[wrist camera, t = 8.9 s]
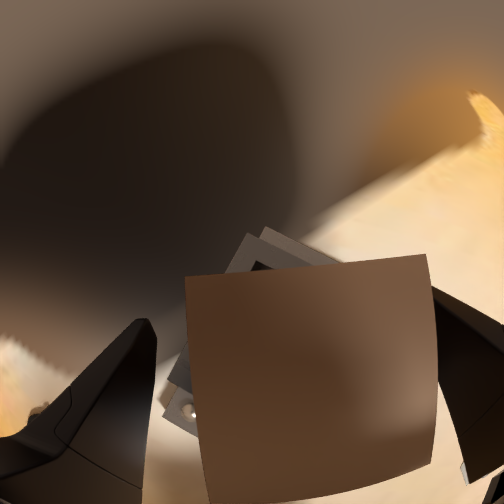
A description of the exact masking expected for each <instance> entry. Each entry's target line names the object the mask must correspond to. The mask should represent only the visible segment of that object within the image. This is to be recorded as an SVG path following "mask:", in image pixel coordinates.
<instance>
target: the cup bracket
mask: <svg viewBox="0 0 504 504" xmlns="http://www.w3.org/2000/svg"><path fill="white" fill-rule="evenodd" d="M337 263H339V262H337V261H335V260H333V259H331V258H329V257H327V256H325V255H323V254H321V253H319V252H317V251H315V250H313V249H311V248H309V247H307V246H305V245H303V244H301V243H299V242H297V241H295V240H293V239H291V238H289V237H287V236H285V235H283V234H281V233H279V232H277V231H274V230H272V229H270V228H268V227H266V226H265V228H264V230H263V232H262V233H261V235H260V237H259V238H258V237H256V236H254V235H251V234H250V233H247V234H246V236H245V237H244V239H243V241H242V243H241V244H240V246H239V248H238V250H237V251H236V253H235V255H234V257H233V259H232V260H231V262H230V264H229V266H228V268H227V270H226V271H225V273H236V272H249V271H261V270H272V269H284V268H295V267H305V266H316V265H326V264H337ZM167 380H169V381H170V382H172V383H173V384H175V385H177V386H178V388H177V390H176V392H175V393H174V395H173V397H172V399H171V401H170V403H169V405H168V406H167V408H166V410H165V412H164V414H163V416H162V417H163V418H165V419H167V420H168V421H170V422H171V423H173V424H175V425H177V426H178V427H180V428H182V429H183V430H185V431H187V432H189V433H191V434H192V435H194V436H196V437H198V432H197V424H196V417H195V409H194V400H193V391H192V382H191V372H190V361H189V348H188V341H187V343H186V345H185V347H184V348H183V350H182V352H181V354H180V356H179V358H178V360H177V362H176V363H175V365H174V367H173V369H172V371H171V373H170V375H169V377H168V378H167Z"/></svg>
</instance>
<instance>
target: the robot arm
mask: <svg viewBox="0 0 504 504" xmlns="http://www.w3.org/2000/svg"><path fill="white" fill-rule="evenodd" d="M431 287H432V295H433V303H434V311H435V322H436V335H437V355H438V382H439V385H440V387H441V390H442V393H443V395H444V398H445V401H446V404H447V407H448V409H449V412H450V415H451V418H452V421H453V425H454V428H455V431H456V434H457V438H458V442H459V445H460V449H461V452H462V456H463V460H464V464H465V469H466V473H467V478H468V482H469V484H471V483H473V482H475V481H476V480H478V479H480V478H482V477H484V476H486V475H487V474H489V473H491V472H492V471H494V470H496V469H497V468H499V467H501V466H502V465H504V325H503V324H500V323H499V322H497V321H496V320H494V319H492V318H490V317H489V316H487V315H485V314H483V313H482V312H480V311H478V310H476V309H474V308H473V307H471V306H469V305H467V304H465V303H463V302H462V301H460V300H458V299H456V298H454V297H452V296H451V295H449V294H447V293H445V292H443V291H441V290H439V289H437V288H435V287H433V286H431ZM156 352H157V337H156V334H155V332H154V330H153V327H152V325H151V323H150V321H149V320H148V319H147V318H140V319H136V320H134V321H133V322H132V323H131V324H130V325H129V326H128V327H127V328H126V329H125V330H124V331H123V332H122V333H121V334H120V335H119V336H118V337H117V338H116V339H115V340H114V341H113V342H112V343H111V344H110V345H109V346H108V347H107V348H106V349H105V350H104V351H103V352H102V353H101V354H100V355H99V356H98V357H97V358H96V359H95V360H94V361H93V362H92V363H91V364H90V365H89V366H88V367H87V368H86V369H85V370H84V371H83V372H82V373H81V374H80V375H79V376H78V377H77V378H76V379H75V380H74V381H73V382H72V383H71V384H70V386H68V387H67V388H66V389H65V390H64V391H63V392H62V393H61V394H60V395H59V396H58V397H57V398H56V399H55V400H54V401H53V402H52V403H51V404H50V405H49V406H48V407H47V408H46V409H45V410H44V411H42V412H41V413H40V414H39V415H38V416H37V417H36V418H34V419H33V420H32V421H31V422H30V423H29V424H28V425H27V426H25V427H24V428H23V429H22V430H21V431H19V432H18V433H16V434H14V435H11V436H8V437H0V504H142V487H143V473H144V462H145V452H146V443H147V434H148V426H149V418H150V411H151V404H152V397H153V391H154V384H155V370H156ZM482 504H504V470H502V471H501V472H500V473H498V474H497V475H496V476H495V477H493V478H492V480H491V482H490V485H489V488H488V490H487V493H486V495H485V498H484V500H483V502H482Z"/></svg>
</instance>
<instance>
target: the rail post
mask: <svg viewBox="0 0 504 504" xmlns="http://www.w3.org/2000/svg"><path fill="white" fill-rule="evenodd" d="M185 297H186V298H185V299H186V319H187V335H188V348H189V361H190V372H191V382H192V391H193V400H194V409H195V417H196V424H197V432H198V439H199V445H200V452H201V458H202V464H203V470H204V475H205V481H206V486H207V491H208V496H209V501H210V504H264V503H278V502H288V501H297V500H304V499H311V498H317V497H323V496H328V495H333V494H338V493H343V492H347V491H351V490H355V489H359V488H363V487H366V486H370V485H373V484H377V483H380V482H383V481H386V480H389V479H392V478H395V477H398V476H400V475H403V474H406V473H408V472H411V471H413V470H416V469H418V468H421V467H423V466H425V465H428V464H430V463H431V457H432V450H433V443H434V435H435V425H436V413H437V394H438V355H437V335H436V322H435V311H434V303H433V295H432V287H431V281H430V274H429V269H428V263H427V258H426V254H420V255H411V256H403V257H394V258H385V259H375V260H366V261H356V262H347V263H337V264H326V265H316V266H305V267H295V268H284V269H272V270H261V271H249V272H236V273H224V274H212V275H198V276H185Z"/></svg>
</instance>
